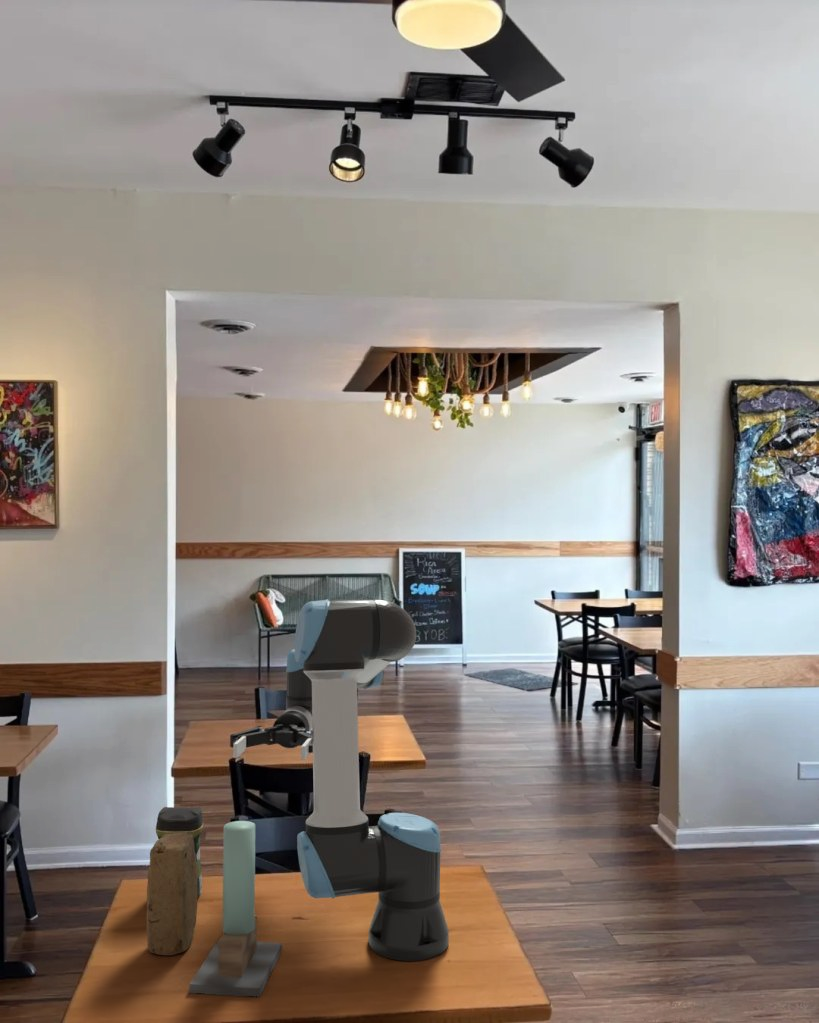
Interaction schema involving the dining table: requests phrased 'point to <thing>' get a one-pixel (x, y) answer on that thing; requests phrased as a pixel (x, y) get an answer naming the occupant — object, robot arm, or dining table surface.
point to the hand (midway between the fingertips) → (268, 752)
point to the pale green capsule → (238, 877)
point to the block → (171, 894)
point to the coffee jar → (183, 829)
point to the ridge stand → (237, 966)
